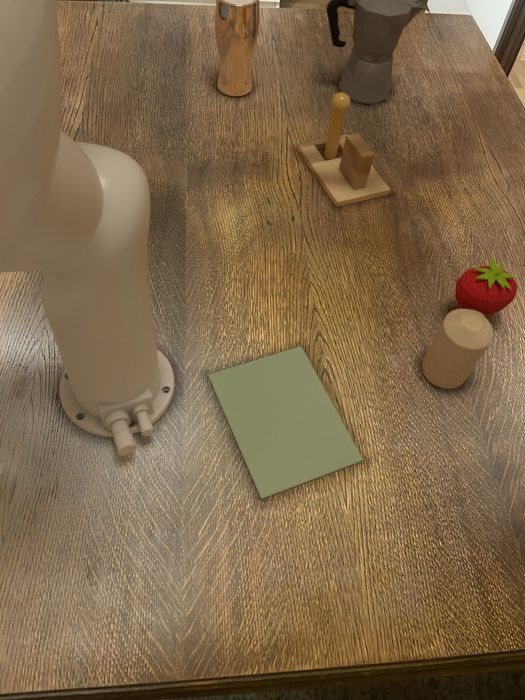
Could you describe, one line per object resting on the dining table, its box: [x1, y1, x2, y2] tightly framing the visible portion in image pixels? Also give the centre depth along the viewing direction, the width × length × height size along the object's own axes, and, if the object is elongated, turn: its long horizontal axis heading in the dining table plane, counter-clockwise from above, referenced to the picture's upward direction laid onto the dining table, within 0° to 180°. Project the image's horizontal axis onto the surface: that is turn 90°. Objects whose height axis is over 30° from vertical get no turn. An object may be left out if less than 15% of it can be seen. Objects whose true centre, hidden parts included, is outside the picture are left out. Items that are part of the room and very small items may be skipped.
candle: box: [421, 308, 494, 390], centre depth 69 cm, size 6×6×10 cm
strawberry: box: [454, 256, 518, 318], centre depth 74 cm, size 6×8×10 cm
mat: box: [207, 345, 364, 501], centre depth 68 cm, size 16×12×1 cm
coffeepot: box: [326, 0, 425, 105], centre depth 99 cm, size 15×9×18 cm, turn 92°
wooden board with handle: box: [296, 133, 391, 208], centre depth 90 cm, size 14×9×7 cm, turn 23°
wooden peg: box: [323, 91, 351, 160], centre depth 91 cm, size 3×3×11 cm
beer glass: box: [214, 0, 261, 97], centre depth 98 cm, size 7×7×15 cm
